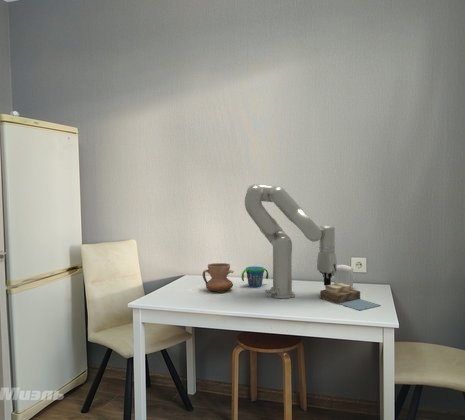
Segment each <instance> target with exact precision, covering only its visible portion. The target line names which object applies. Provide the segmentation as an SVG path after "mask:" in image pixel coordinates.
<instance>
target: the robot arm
mask: <svg viewBox="0 0 465 420" xmlns="http://www.w3.org/2000/svg"><path fill="white" fill-rule="evenodd" d="M262 202H267V203H273V204H274V205H275V206H276V207H277V208H278V209H279V211H280V212H282V213H283V215H284V216H285V217H286V218H287V219H288V220H289V221H290V222H291V223H293V224H294V225H295V226H296V227H297V228H298V230H299V231H300V232H302V234H303V235H304V237H305V238H306V239H307V240H309V241H310V242H312V243H313V242H318V241H319V246H318V248H319V251H318V253H317V259H316V268H317V269H316V270H317V271H319V273H320V274H322V278H323V286H326V285H331V284H332V277H333V276H334V275H336V273H335V272H336V271H337V265H338V264H337V263H338V262H337V255H336V245H335V243H336V241H335V240H336V239H335V237H336V235H335V232H336V231H335V226H333V225H328V224H325V225H317V224H316V223H315V221H313V220H312V219H311V217H309V215H308V214H307V212H305V210H303V209H302V207H301V206H300V205H299V204H298V203H297V202H296V201H295V200H294V199H293V197H292V195H290V194H289V193H288V192H287V191H286V189H285V188H283V187H282V186H280V185H279V186H276V185H275V186H274V185H263V184H251V185H250V186H248V187H247V189H246V193H245V195H244V208H245V210H246V212H247V214H248V216H249V217H250V218H251V220H252V221H253V222H254V223H255V225H256V226H257V228H258V229H259V230H260V232H261V233H262V235H263V236H264V237H265V238H266V239H267V241H268V242H269V243H270V244H271V246H272V282H273V283H272V286H271V288H269V289H266V290H264V292H265V294H267V295H268V294H269V296H270V297H272V298H276V299H290V298H291V299H292V298H294V297H295V296H296V293H295V292H294V291H293V288H292V287H293V276H292V275H293V274H292V273H293V269H292V267H293V265H292V264H293V263H292V259H293V258H292V257H293V254H292V253H293V242H292V238H291V237H290V236H289V235H288V234H287V233H286V232H285V231H284V230H283V228H282V227H281V225H280V224H279V223H278V222H277V220H276V219H275V218H274V217H272V215H271V214H270V213H269V212H268V210H267V209H266V208H265V206H264V205H263V203H262Z"/></svg>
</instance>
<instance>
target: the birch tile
mask: <svg viewBox="0 0 465 420" xmlns="http://www.w3.org/2000/svg"><path fill="white" fill-rule="evenodd" d="M324 286H325V285H324ZM324 290H326V291H329V292H333V293H340V292H345V291H350V285H346V284H342V283H337V284H334V283H331V285H326V286H325V288H324Z"/></svg>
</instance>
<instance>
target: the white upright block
mask: <svg viewBox="0 0 465 420" xmlns="http://www.w3.org/2000/svg"><path fill="white" fill-rule="evenodd" d="M335 273H336V275H334V283H333V284H337V283H342V284H346V285H350V289H354V287H353V286H354V268H353V267H352V266H350V265H345V264H337V271H336V272H335Z"/></svg>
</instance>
